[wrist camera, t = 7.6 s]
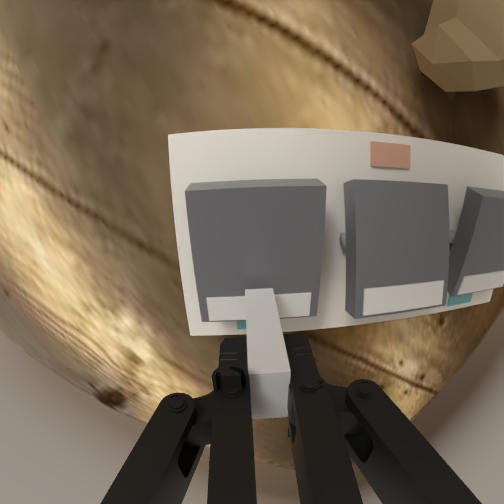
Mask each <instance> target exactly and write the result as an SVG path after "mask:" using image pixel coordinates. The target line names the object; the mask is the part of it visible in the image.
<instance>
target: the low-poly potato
mask: <svg viewBox="0 0 504 504" xmlns="http://www.w3.org/2000/svg"><path fill="white" fill-rule="evenodd" d="M411 45H412V48H413V51H414V54H415V57H416V60H417V63H418V66H419V69H420V71H421V72H422V73H424V74H425V75H426V76H427V77H429V78H430V79H431V80H432V81H433V82H435V83H436V84H437V85H438V86H439V87H440V88H442V89H443V90H444V91H445V92H446V94H447V96H448V98H449V101H450V103H451V101H452V99H453V97H454V95H455V92H458V91H479V90H485V89H490V88H496V87H502V86H504V0H433V3H432V7H431V11H430V14H429V18H428V22H427V25H426V29H425V32H424V35H423V36H421V37H420V38H418V39H417V40H416V41H414V42H413V43H411Z"/></svg>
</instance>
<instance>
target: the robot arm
mask: <svg viewBox="0 0 504 504" xmlns="http://www.w3.org/2000/svg"><path fill="white" fill-rule="evenodd" d="M245 304H246V332H247V337H242V338H225V339H224V341H223V342H222V343H221V345H220V355H219V367H218V368H217V369H216V370H215V371H214V372H213V374H212V382H213V387H214V390H213V391H212V392H211V393H209V394H207V395H205V396H202V397H198V398H194V399H193V398H192V397H191V396H190V395H187V394H185V393H173V394H170V395H168V396H166V397H164V398H163V400H162V401H161V402H160V404H159V405H158V407H157V409H156V410H155V412H154V414H153V416H152V417H151V419H150V421H149V422H148V424H147V426H146V427H145V429H144V431H143V433H142V434H141V436H140V438H139V439H138V441H137V443H136V444H135V446H134V448H133V449H132V451H131V453H130V455H129V456H128V458H127V460H126V461H125V463H124V465H123V466H122V468H121V470H120V472H119V473H118V475H117V477H116V478H115V480H114V482H113V484H112V485H111V487H110V489H109V490H108V492H107V494H106V495H105V497H104V499H103V500H102V502H101V504H181V503H182V501H183V499H184V496H185V494H186V492H187V489H188V487H189V484H190V482H191V479H192V477H193V474H194V472H195V470H196V467H197V465H198V462H199V460H200V457H201V455H202V452H203V450H204V447H205V445H208V444H211V445H210V461H209V479H208V498H207V504H257V497H256V480H255V463H254V446H253V428H252V419H267V418H280V417H288V415H289V429H288V437H290V439H291V445H292V452H293V458H294V465H295V471H296V478H297V484H298V491H299V497H300V504H363V502H362V499H361V495H360V492H359V488H358V484H357V481H356V478H355V474H354V471H353V467H352V464H351V461H350V457H349V454H350V455H351V457H352V458H353V460H354V461H355V463H356V465H357V466H358V468H359V469H360V471H361V472H362V473H363V475H364V477H365V478H366V479H367V481H368V483H369V484H370V486H371V487H372V488H373V490H374V492H375V493H376V494H377V496H378V498H379V499H380V501H381V502H382V503H383V504H482V503H481V502H480V501H479V500H478V499H477V498H476V496H475V495H474V494H473V493H472V492H471V491H470V490H469V488H468V487H467V486H466V485H465V484H464V483H463V481H462V480H461V479H460V478H459V477H458V476H457V475H456V473H455V472H454V471H453V470H452V469H451V468H450V466H449V465H447V463H446V462H445V461H444V460H443V458H442V457H441V456H440V455H439V454H438V453H437V451H436V450H435V449H434V448H433V447H432V446H431V445H430V443H429V442H428V441H427V440H426V439H425V438H424V437H423V435H421V433H420V432H419V431H418V430H417V429H416V427H415V426H414V425H413V424H412V423H411V422H410V421H409V420H408V418H407V417H406V416H405V415H404V414H403V413H402V412H401V410H400V409H399V408H398V407H397V406H396V405H395V404H394V402H393V401H392V400H391V399H390V398H389V397H388V396H387V395H386V393H385V392H384V391H383V390H382V389H381V388H380V387H379V385H377V384H376V383H375V382H373V381H370V380H364V379H361V380H356V381H354V382H352V383H351V384H350V385H349V387H348V388H346V387H337V386H332V385H329V384H327V383H326V382H325V381H324V379H322V378H321V377H320V375H319V373H318V369H317V366H316V363H315V360H314V357H313V354H312V351H311V348H310V344H309V341H308V339H307V338H306V337H305V336H304V335H303V334H302V333H296V334H283V333H282V328H281V323H280V319H279V314H278V309H277V305H276V300H275V296H274V291H273V288H264V289H245ZM348 452H349V454H348Z"/></svg>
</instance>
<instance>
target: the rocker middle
mask: <svg viewBox="0 0 504 504" xmlns="http://www.w3.org/2000/svg"><path fill="white" fill-rule="evenodd" d="M343 186H344V204H345V233H346V294H345V311H346V312H347V313H348V314H350V315H351V316H352V317H353V318H354V319H359V318H367V317H375V316H383V315H390V314H397V313H404V312H411V311H417V310H423V309H429V308H435V307H441V306H446V297H447V286H448V271H449V199H448V185H447V184H435V183H422V182H407V181H388V180H361V179H353V180H350V181H348V182H345V183H343Z"/></svg>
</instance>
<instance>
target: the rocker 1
mask: <svg viewBox="0 0 504 504" xmlns="http://www.w3.org/2000/svg"><path fill="white" fill-rule="evenodd" d="M326 188H327V186H326V185H325V184H324V183H322V182H321V181H320V180H319V179H261V180H236V181H217V182H201V183H190V185H189V186H188V187H187V189H186V190H185V200H186V209H187V218H188V227H189V235H190V244H191V252H192V259H193V267H194V274H195V281H196V288H197V294H198V301H199V307H200V314H201V320H202V322H224V321H246V304H245V289H264V288H273V291H274V296H275V300H276V305H277V309H278V314H279V319H285V318H299V317H311V316H317V308H318V298H319V288H320V278H321V267H322V255H323V242H324V227H325V209H326Z"/></svg>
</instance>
